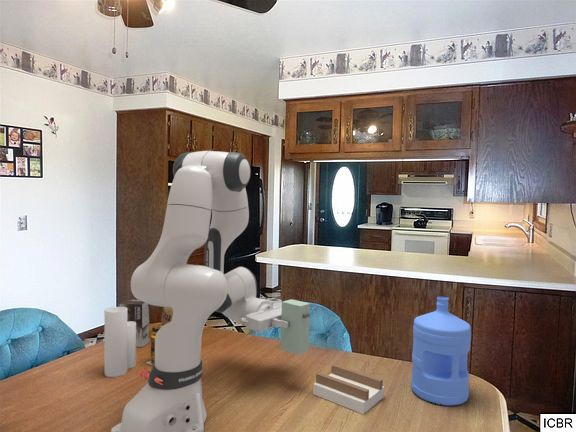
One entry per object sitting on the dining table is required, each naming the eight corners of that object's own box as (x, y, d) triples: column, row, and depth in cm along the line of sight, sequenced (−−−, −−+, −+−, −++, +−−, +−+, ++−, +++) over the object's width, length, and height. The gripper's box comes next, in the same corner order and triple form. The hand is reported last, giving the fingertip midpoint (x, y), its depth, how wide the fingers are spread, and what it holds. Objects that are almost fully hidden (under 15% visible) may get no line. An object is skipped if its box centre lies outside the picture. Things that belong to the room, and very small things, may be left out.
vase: (120, 377, 122) (121, 313, 121) (98, 376, 123) (98, 311, 122) (138, 362, 133) (138, 303, 133) (118, 361, 134) (118, 302, 133)
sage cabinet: (301, 355, 114) (302, 306, 113) (280, 348, 119) (281, 301, 118) (310, 351, 117) (312, 303, 117) (290, 344, 122) (291, 299, 122)
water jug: (400, 383, 122) (403, 292, 121) (445, 378, 126) (449, 290, 125) (431, 409, 107) (435, 306, 106) (481, 403, 111) (485, 303, 110)
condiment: (145, 363, 133) (145, 328, 132) (161, 354, 141) (161, 320, 140) (163, 367, 130) (163, 331, 130) (178, 357, 138) (179, 323, 138)
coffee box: (150, 341, 153) (150, 299, 153) (142, 347, 147) (142, 304, 146) (127, 340, 154) (127, 298, 154) (118, 346, 148) (118, 302, 147)
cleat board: (363, 414, 104) (364, 393, 104) (313, 394, 114) (313, 375, 114) (384, 397, 114) (384, 378, 113) (336, 380, 124) (336, 362, 123)
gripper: (236, 309, 119) (271, 319, 110) (281, 298, 134) (315, 305, 126) (236, 330, 119) (271, 342, 110) (280, 316, 135) (314, 325, 126)
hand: (295, 322), depth 118 cm, fingers closed on sage cabinet, 4 cm apart
